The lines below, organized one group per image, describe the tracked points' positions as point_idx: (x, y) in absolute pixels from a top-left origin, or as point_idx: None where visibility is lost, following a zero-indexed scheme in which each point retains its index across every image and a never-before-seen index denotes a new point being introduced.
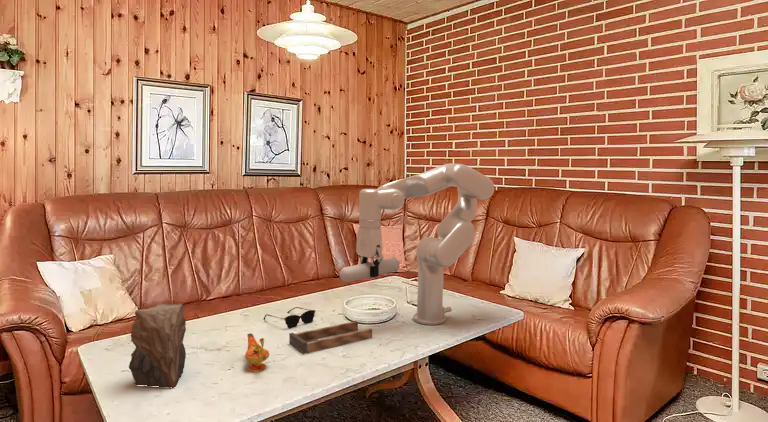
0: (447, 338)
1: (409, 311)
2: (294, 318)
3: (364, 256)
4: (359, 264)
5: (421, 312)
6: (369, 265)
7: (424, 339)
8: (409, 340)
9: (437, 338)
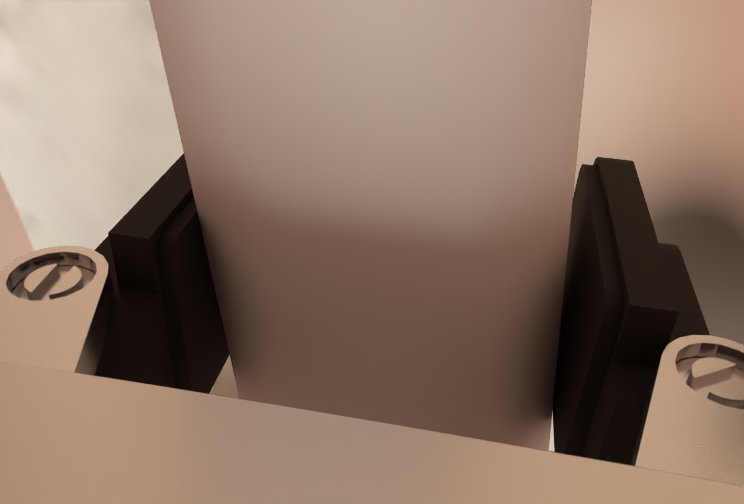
0: (48, 247)
1: (553, 430)
2: None
3: (226, 397)
4: (446, 77)
5: None
6: (260, 286)
7: (85, 141)
8: (108, 53)
9: (69, 209)
